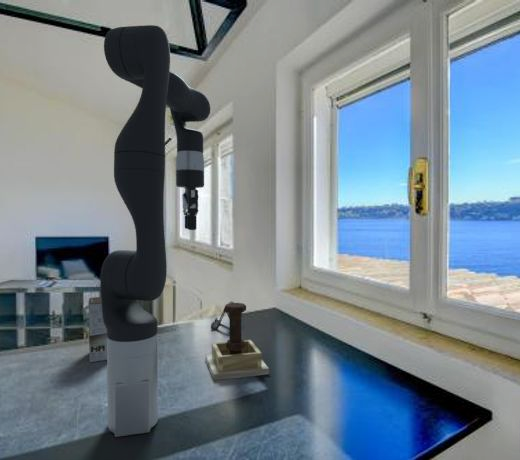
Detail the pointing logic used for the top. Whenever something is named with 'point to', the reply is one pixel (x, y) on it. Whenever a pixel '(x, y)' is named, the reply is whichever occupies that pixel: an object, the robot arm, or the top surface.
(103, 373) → the top surface
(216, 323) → the portable electronic device stand
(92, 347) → the coffee box
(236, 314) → the bolt
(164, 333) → the top surface
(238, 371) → the board
